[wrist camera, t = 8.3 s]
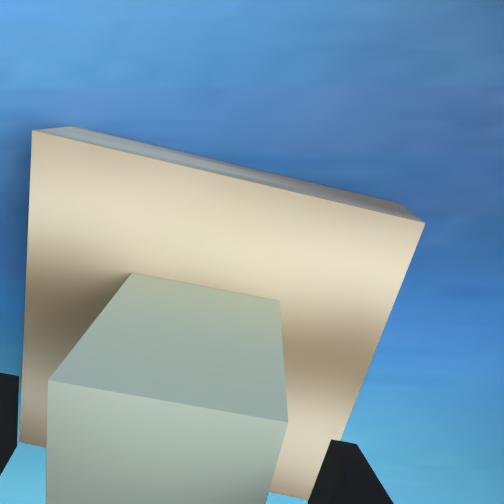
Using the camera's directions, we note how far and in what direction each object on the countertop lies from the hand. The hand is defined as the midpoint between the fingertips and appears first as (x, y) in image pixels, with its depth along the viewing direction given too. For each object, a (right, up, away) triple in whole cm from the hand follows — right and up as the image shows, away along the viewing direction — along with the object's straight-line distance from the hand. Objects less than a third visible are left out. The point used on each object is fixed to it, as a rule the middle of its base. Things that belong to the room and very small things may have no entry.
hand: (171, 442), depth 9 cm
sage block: (0, +1, +4) cm, 4 cm away
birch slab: (0, +2, +6) cm, 7 cm away
